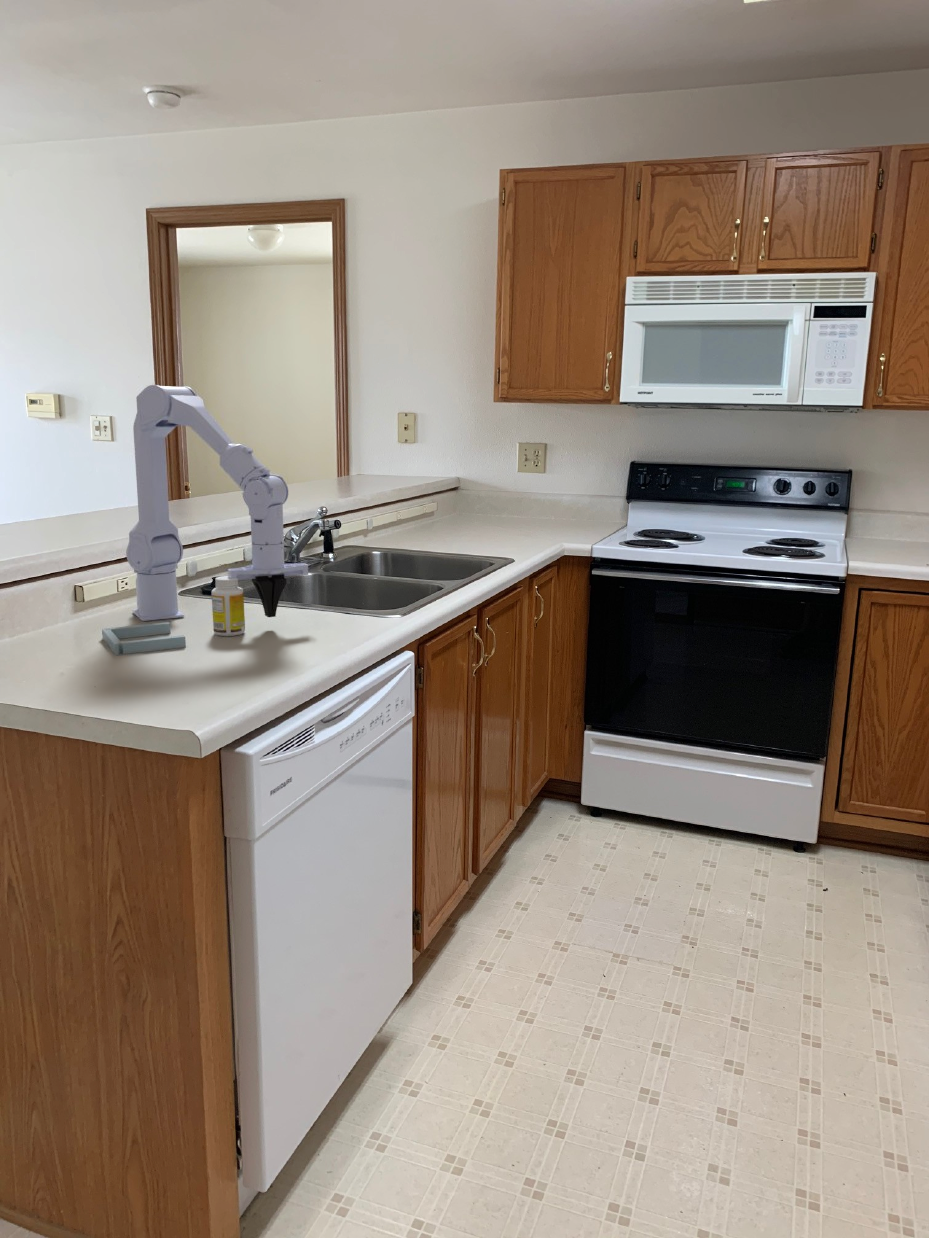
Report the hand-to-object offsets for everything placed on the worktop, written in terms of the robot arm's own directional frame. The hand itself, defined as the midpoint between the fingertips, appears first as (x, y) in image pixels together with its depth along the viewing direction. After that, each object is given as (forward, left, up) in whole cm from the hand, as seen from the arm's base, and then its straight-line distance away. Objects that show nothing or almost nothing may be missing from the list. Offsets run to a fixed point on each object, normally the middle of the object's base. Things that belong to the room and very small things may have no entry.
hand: (270, 616), depth 169 cm
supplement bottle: (0, -8, -3) cm, 8 cm away
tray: (0, -23, -2) cm, 23 cm away
